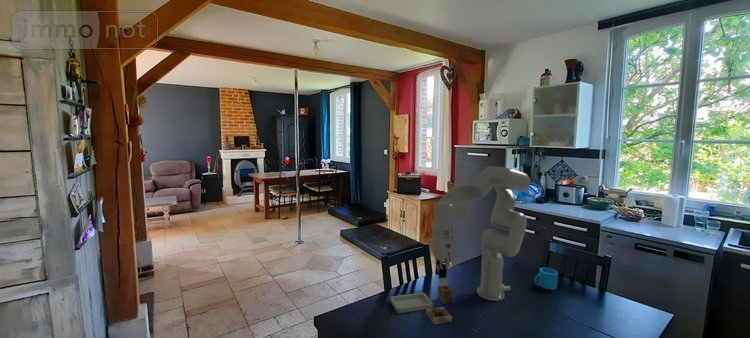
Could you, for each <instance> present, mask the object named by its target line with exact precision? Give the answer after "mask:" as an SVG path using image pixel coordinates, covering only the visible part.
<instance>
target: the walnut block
mask: <svg viewBox="0 0 750 338" xmlns="http://www.w3.org/2000/svg"><path fill="white" fill-rule="evenodd" d="M453 298H454V290H453V288H452V287H451V286H450V285H445V286H441V285H438V286H437V299H438V301H439V302H440V303H441V304H442V305H443V304H445V305H446V304H451V303H453V301H454V299H453Z"/></svg>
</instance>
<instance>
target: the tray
mask: <svg viewBox="0 0 750 338" xmlns="http://www.w3.org/2000/svg"><path fill="white" fill-rule="evenodd" d="M389 297H390V298H389V301H390V303H391V304H392V306H393V309H394V311H396V313H397V314H404V313H411V312H419V311H426V309H430V308H435V307H434V306H435V305H434V303H433V302H432V300H431V299H430V298H429V296H427V294H426V293H425V292H418V293H411V294H410V293H409V294H402V295H401V294H400V295H395V296H394V295H393V296H392V295H391V296H389Z"/></svg>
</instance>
